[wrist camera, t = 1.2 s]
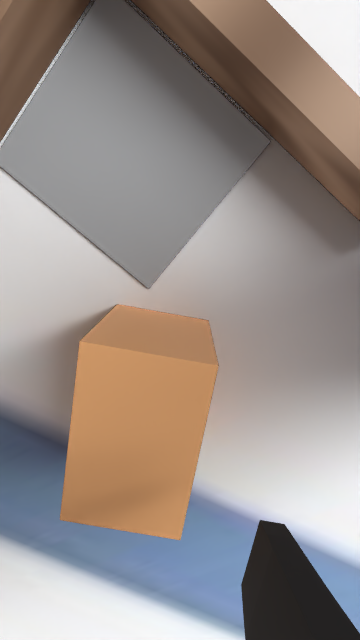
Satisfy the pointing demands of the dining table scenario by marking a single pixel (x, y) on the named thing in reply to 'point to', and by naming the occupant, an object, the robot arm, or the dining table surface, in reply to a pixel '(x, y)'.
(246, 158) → the pad
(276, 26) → the arena
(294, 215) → the dining table surface
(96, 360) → the block
